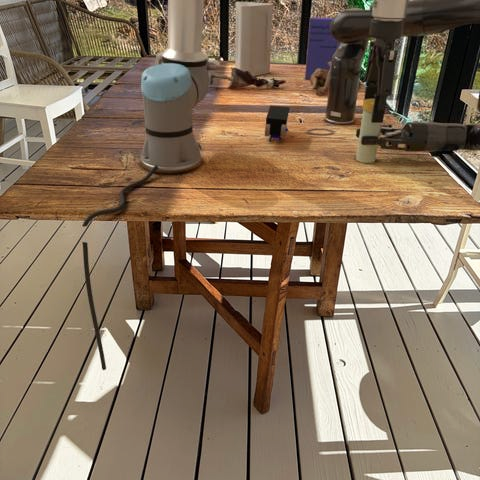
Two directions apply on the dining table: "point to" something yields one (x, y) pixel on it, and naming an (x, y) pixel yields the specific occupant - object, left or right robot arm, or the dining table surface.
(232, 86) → the figurine
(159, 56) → the toy
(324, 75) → the anatomical model
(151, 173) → the left robot arm
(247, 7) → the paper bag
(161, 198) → the dining table surface
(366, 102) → the lid
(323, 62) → the cereal box
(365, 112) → the jar
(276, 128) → the figurine character
